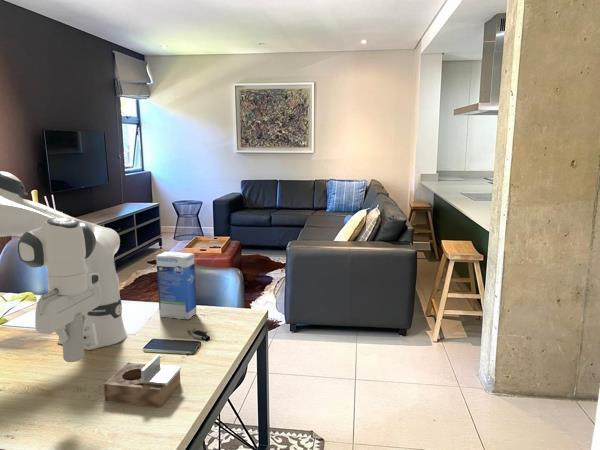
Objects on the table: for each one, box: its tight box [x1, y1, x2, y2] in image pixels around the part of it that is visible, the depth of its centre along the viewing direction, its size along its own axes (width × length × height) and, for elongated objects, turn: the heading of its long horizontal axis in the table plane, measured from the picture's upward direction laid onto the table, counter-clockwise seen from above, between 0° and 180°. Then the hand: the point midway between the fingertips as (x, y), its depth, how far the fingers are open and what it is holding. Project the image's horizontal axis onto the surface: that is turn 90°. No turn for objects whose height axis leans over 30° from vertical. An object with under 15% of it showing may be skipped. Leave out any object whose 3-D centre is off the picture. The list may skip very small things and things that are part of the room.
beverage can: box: [61, 312, 85, 363], centre depth 111 cm, size 5×5×12 cm
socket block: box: [103, 362, 181, 408], centre depth 122 cm, size 16×12×5 cm
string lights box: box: [155, 251, 197, 320], centre depth 176 cm, size 13×8×26 cm, turn 77°
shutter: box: [141, 354, 182, 386], centre depth 120 cm, size 7×9×4 cm
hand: (72, 335), depth 111 cm, fingers closed on beverage can, 5 cm apart
